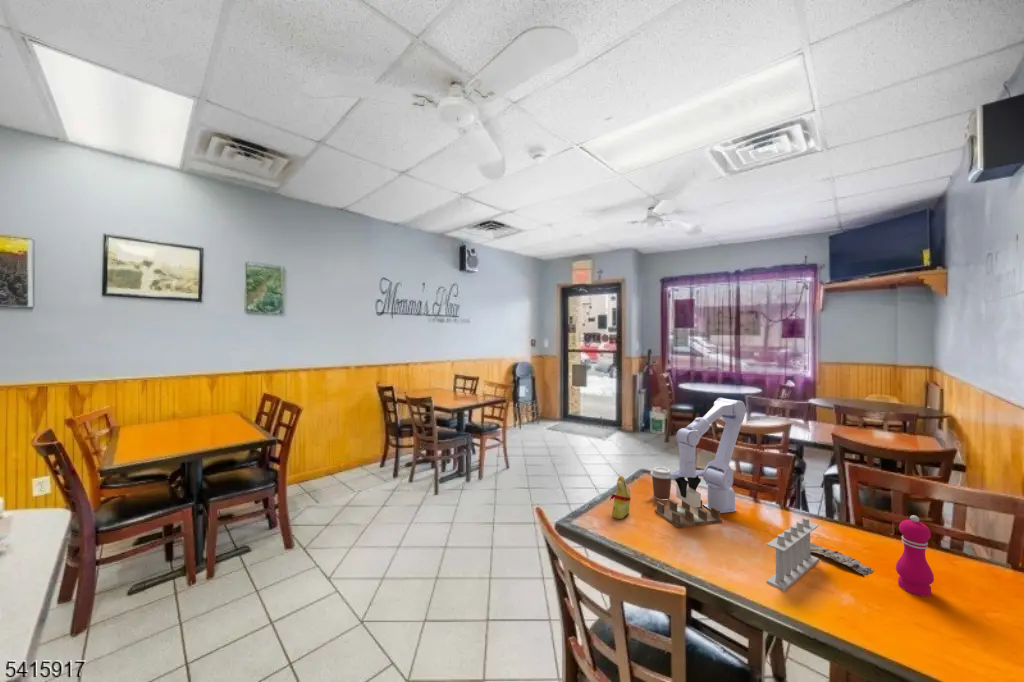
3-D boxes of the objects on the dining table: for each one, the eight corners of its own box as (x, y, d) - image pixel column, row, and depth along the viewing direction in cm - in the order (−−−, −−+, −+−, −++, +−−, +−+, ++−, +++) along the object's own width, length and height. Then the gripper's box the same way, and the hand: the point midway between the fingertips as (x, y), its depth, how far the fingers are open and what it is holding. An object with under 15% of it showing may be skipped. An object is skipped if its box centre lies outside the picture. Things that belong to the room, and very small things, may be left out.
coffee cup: (652, 501, 164) (652, 472, 164) (648, 492, 173) (648, 465, 173) (675, 502, 163) (675, 473, 163) (670, 494, 172) (670, 466, 172)
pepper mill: (938, 601, 102) (938, 524, 101) (900, 591, 105) (900, 517, 105) (928, 586, 108) (928, 513, 108) (892, 577, 112) (892, 507, 111)
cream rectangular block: (683, 496, 155) (683, 483, 155) (700, 506, 145) (700, 493, 145) (676, 496, 154) (676, 484, 154) (693, 507, 145) (693, 494, 145)
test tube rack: (784, 591, 106) (784, 542, 106) (766, 583, 110) (766, 536, 110) (819, 560, 120) (819, 517, 120) (801, 554, 124) (802, 512, 124)
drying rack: (696, 506, 159) (696, 496, 159) (722, 522, 146) (722, 511, 146) (654, 511, 155) (654, 501, 155) (677, 527, 141) (677, 516, 141)
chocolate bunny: (634, 511, 155) (633, 473, 155) (622, 521, 146) (622, 481, 146) (617, 507, 159) (617, 469, 159) (605, 516, 151) (605, 477, 150)
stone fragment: (869, 582, 111) (876, 569, 117) (869, 572, 111) (877, 559, 117) (768, 544, 131) (779, 535, 137) (768, 536, 131) (779, 526, 137)
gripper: (677, 465, 145) (677, 502, 145) (711, 462, 148) (711, 498, 148) (665, 459, 151) (665, 494, 152) (698, 456, 155) (698, 491, 155)
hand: (687, 496), depth 150 cm, fingers closed on cream rectangular block, 3 cm apart
